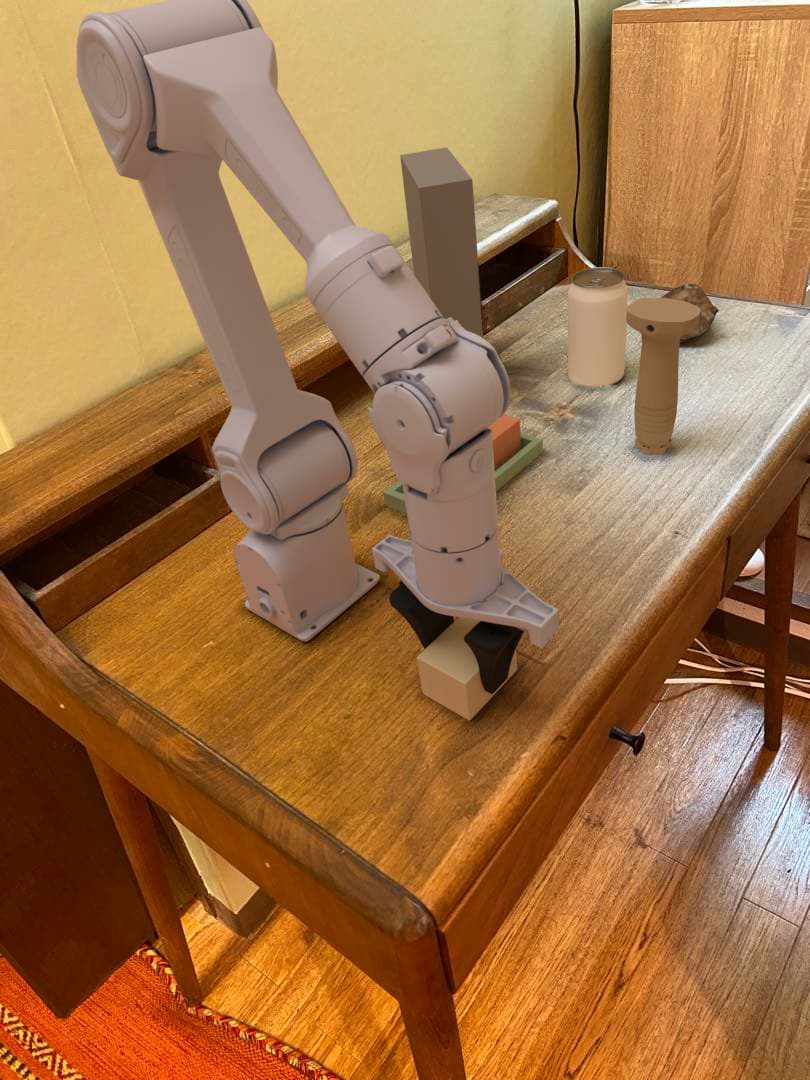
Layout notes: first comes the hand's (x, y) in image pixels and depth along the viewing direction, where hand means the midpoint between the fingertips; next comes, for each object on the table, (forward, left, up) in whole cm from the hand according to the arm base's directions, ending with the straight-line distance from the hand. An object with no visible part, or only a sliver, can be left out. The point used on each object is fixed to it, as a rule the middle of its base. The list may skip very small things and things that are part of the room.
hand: (469, 669), depth 61 cm
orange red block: (+24, +17, -1) cm, 30 cm away
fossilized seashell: (+61, +14, -2) cm, 62 cm away
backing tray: (+21, +17, -1) cm, 27 cm away
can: (+46, +17, -2) cm, 49 cm away
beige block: (0, 0, -1) cm, 1 cm away
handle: (+35, +4, -2) cm, 35 cm away
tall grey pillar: (+36, +30, -2) cm, 47 cm away
